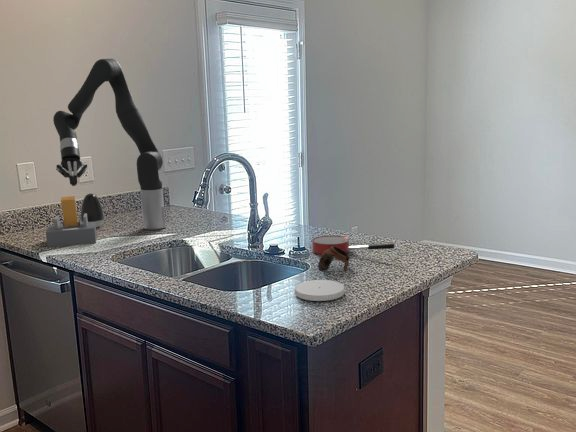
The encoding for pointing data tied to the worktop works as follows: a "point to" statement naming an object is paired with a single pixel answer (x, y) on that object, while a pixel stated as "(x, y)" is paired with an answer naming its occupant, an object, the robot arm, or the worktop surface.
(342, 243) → the frying pan
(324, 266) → the brown arched piece
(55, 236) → the switch box
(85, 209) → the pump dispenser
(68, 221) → the lever
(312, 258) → the worktop surface
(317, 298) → the plastic lid
